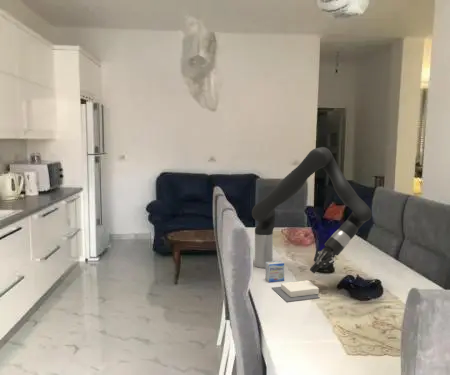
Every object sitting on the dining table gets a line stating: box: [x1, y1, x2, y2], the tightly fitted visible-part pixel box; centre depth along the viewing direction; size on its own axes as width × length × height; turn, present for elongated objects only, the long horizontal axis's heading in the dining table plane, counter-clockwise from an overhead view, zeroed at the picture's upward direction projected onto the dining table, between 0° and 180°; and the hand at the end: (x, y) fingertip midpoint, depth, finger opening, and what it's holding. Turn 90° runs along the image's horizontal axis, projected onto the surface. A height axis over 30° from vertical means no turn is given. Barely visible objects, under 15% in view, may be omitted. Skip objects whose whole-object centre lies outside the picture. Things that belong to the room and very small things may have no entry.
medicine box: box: [264, 260, 285, 283], centre depth 194 cm, size 8×4×9 cm, turn 105°
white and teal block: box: [280, 280, 320, 297], centre depth 178 cm, size 10×3×13 cm
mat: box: [271, 286, 320, 303], centre depth 178 cm, size 16×15×1 cm
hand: (311, 271), depth 179 cm, fingers closed
